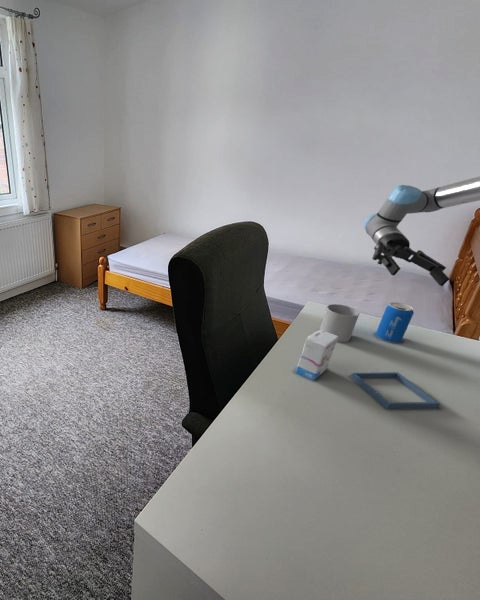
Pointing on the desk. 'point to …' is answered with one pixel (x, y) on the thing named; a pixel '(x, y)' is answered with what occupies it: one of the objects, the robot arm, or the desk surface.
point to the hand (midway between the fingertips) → (420, 277)
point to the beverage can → (394, 322)
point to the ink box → (316, 354)
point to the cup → (340, 321)
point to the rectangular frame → (401, 405)
